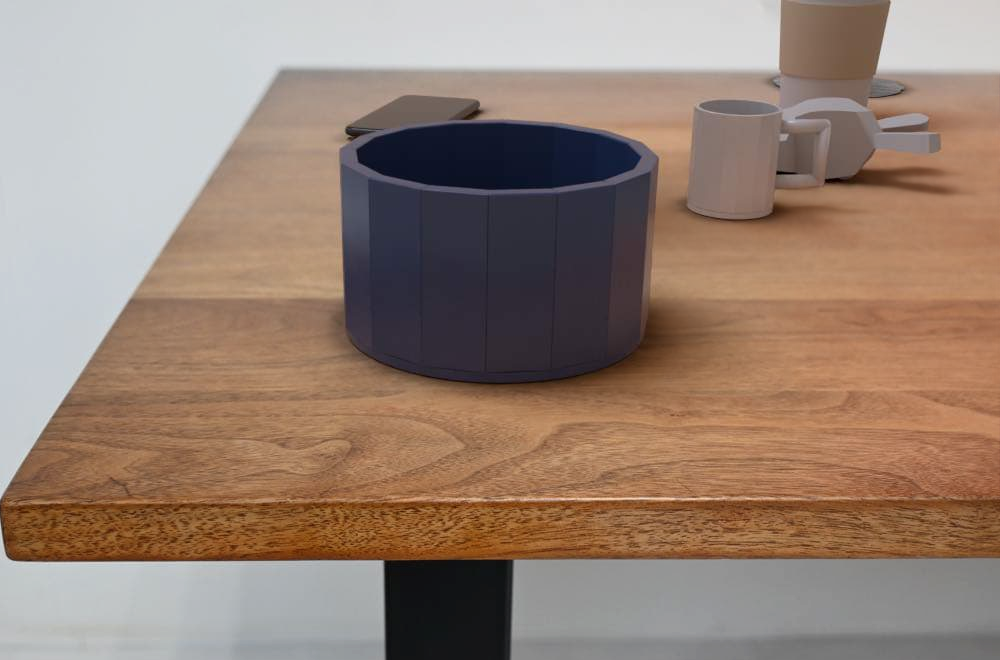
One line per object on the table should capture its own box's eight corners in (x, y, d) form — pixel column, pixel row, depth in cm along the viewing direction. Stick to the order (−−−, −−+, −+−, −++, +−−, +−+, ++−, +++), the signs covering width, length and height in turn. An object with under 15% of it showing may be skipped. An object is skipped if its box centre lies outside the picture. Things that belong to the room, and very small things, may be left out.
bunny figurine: (712, 99, 93) (925, 83, 90) (714, 166, 95) (923, 153, 92) (710, 126, 85) (946, 109, 81) (713, 199, 87) (943, 186, 83)
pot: (607, 270, 69) (615, 117, 66) (680, 376, 56) (696, 189, 52) (340, 279, 67) (335, 122, 64) (350, 390, 54) (345, 198, 51)
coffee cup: (897, 130, 102) (925, -63, 97) (795, 135, 101) (817, -62, 95) (843, 108, 110) (866, -71, 105) (748, 112, 109) (765, -71, 103)
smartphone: (402, 103, 111) (340, 137, 98) (402, 93, 111) (340, 127, 98) (483, 108, 109) (431, 144, 96) (483, 98, 109) (431, 133, 96)
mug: (700, 220, 78) (709, 116, 76) (677, 197, 83) (684, 99, 81) (837, 216, 79) (850, 114, 77) (805, 194, 84) (817, 97, 82)
